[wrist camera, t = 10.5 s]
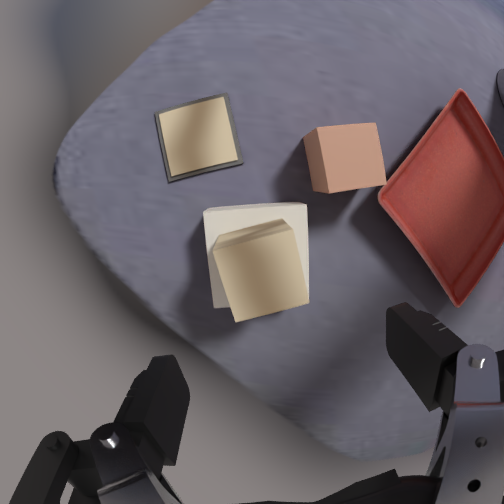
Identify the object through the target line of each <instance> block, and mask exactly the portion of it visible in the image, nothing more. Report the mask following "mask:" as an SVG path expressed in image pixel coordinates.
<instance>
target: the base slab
mask: <svg viewBox="0 0 504 504" xmlns="http://www.w3.org/2000/svg"><path fill="white" fill-rule="evenodd" d="M203 217H204V227H205V237H206V246H207V255H208V264H209V273H210V281H211V289H212V297H213V305H214V308H226V307H230V304H229V301H228V298H227V295H226V292H225V289H224V286H223V283H222V280H221V277H220V273H219V270H218V267H217V264H216V261H215V258H214V254H213V249H214V246H215V244H216V241H217V239H218V237H219V235H221V234H225V233H228V232H232V231H236V230H239V229H243V228H247V227H250V226H254V225H258V224H262V223H265V222H269V221H273V220H277V219H280V218H282V219H283V220H284V221H285V222H286V223H287V224H288V225H289V226H290V227H291V228H292V229H293V231H294V235H295V239H296V243H297V248H298V252H299V256H300V261H301V265H302V270H303V274H304V279H305V283H306V288H307V293H308V298H309V255H308V221H307V205H306V204H303V203H301V202H281V203H265V204H251V205H238V206H225V207H214V208H208V209H207V210H205V211H204V212H203Z"/></svg>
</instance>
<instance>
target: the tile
mask: <svg viewBox="0 0 504 504" xmlns="http://www.w3.org/2000/svg"><path fill="white" fill-rule="evenodd" d="M155 117H156V122H157V127H158V133H159V138H160V143H161V148H162V152H163V157H164V162H165V167H166V171H167V176H168V180H169V182H170V181H174V180H178V179H181V178H185V177H189V176H192V175H196V174H200V173H204V172H208V171H212V170H216V169H221V168H225V167H229V166H234V165H238V164H243V159H242V155H241V150H240V146H239V141H238V137H237V133H236V128H235V124H234V119H233V115H232V111H231V106H230V102H229V98H228V93H223V94H219V95H214V96H210V97H206V98H202V99H198V100H194V101H191V102H187V103H183V104H180V105H177V106H173V107H170V108H167V109H163V110H160V111H157V112H155Z"/></svg>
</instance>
